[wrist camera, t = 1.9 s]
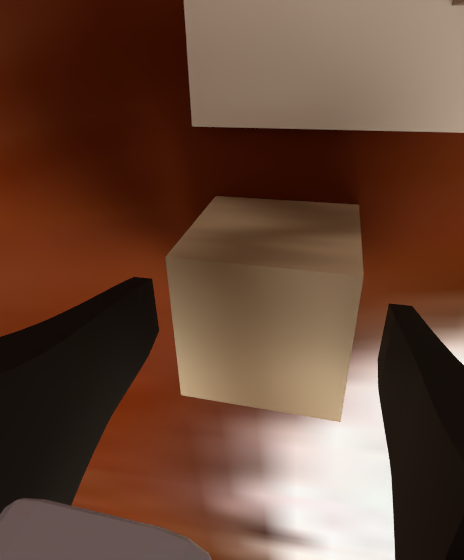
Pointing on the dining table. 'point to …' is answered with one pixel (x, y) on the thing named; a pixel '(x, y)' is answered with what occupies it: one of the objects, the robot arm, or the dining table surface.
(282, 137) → the dining table surface
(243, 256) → the maple cube
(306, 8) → the build board
